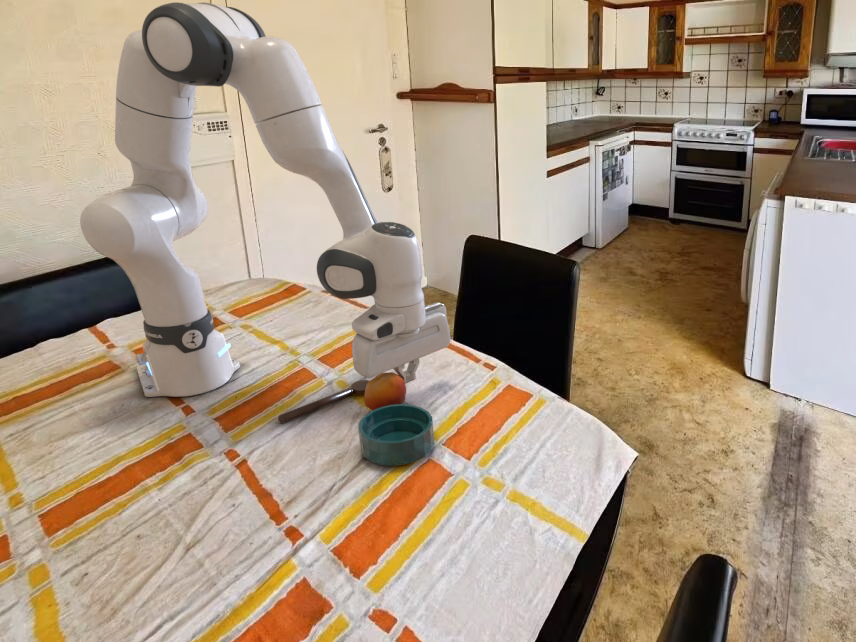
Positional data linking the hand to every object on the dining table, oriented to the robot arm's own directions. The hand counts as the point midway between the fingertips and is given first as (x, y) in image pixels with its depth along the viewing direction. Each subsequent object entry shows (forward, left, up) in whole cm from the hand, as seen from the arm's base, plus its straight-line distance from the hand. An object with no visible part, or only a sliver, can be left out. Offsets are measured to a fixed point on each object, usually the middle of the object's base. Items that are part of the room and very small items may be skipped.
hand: (407, 381), depth 120 cm
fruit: (0, -5, -4) cm, 6 cm away
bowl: (+13, -12, -4) cm, 18 cm away
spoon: (-9, -12, -4) cm, 15 cm away
